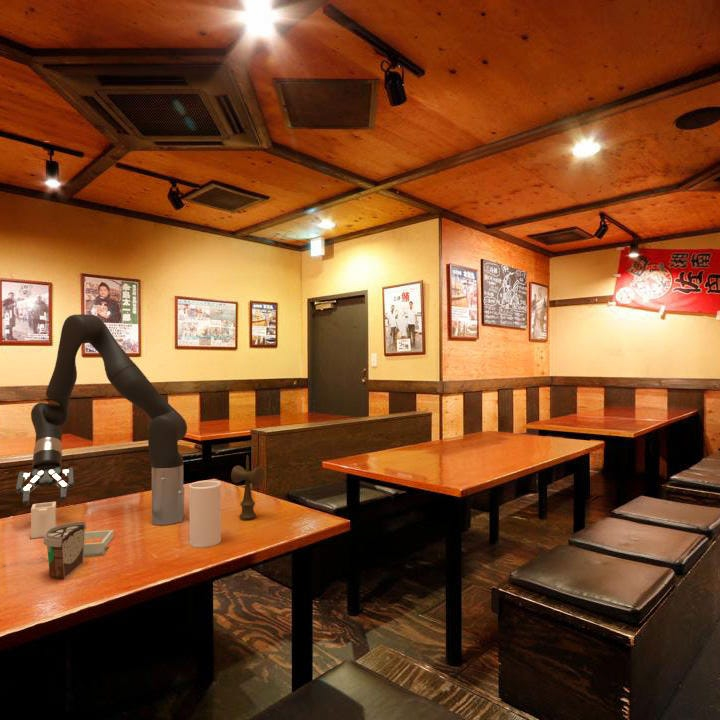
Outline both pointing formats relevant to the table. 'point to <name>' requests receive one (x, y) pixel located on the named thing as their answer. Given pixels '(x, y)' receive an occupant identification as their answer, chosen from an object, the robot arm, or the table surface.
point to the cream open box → (42, 518)
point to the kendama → (247, 487)
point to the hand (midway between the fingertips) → (44, 502)
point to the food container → (65, 548)
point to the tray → (100, 547)
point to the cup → (205, 513)
